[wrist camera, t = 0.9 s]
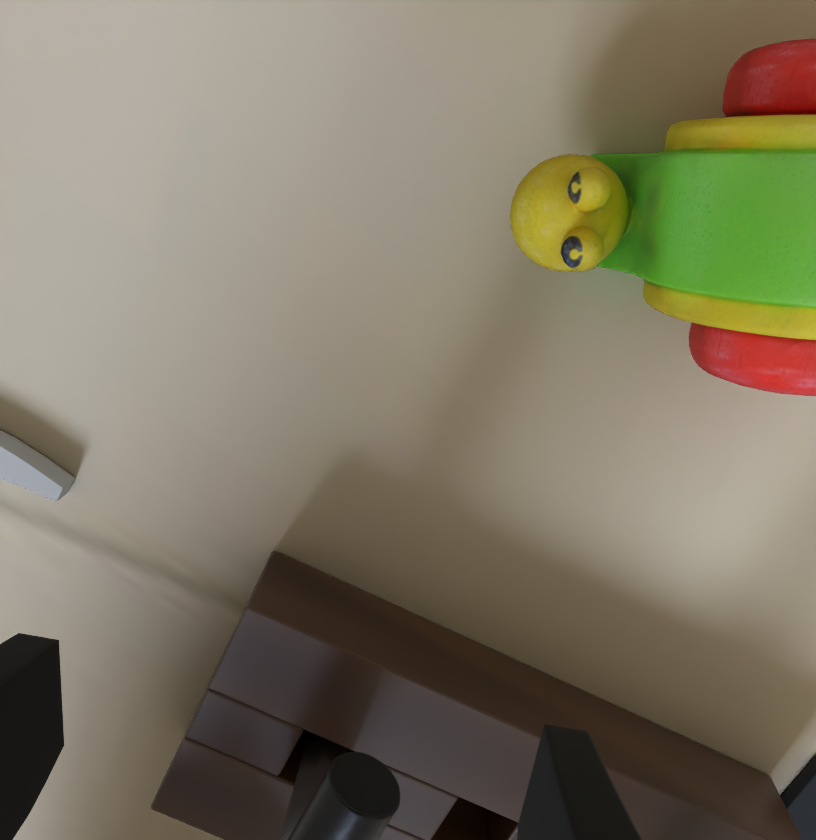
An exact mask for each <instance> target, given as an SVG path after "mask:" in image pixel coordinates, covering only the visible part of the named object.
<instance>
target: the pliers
mask: <svg viewBox="0 0 816 840" xmlns="http://www.w3.org/2000/svg"><path fill="white" fill-rule="evenodd" d="M0 479H3V480H6V481H8V482H11V483H13V484H16V485H19V486H21V487H24V488H26V489H29V490H31V491H33V492H35V493H38V494H40V495H42V496H45V497H47V498H49V499H52V500H54V501H56V502H57V501H58V500H59V499H60V498H62V497H63V496H64V495H65V494H66V493H67V492H69V490H70V488H71V486H72V484H73V481H74V479H75V478H74V477H73V476H72V475H70V474H69V473H67V472H66V471H64V470H63V469H62V468H60V467H59V466H57V465H56V464H55V463H53V462H52V461H50V460H49V459H48V458H46V457H45V456H43V455H42V454H40V453H39V452H37V451H35V450H34V449H32V448H31V447H29V446H27V445H26V444H24V443H23V442H21V441H20V440H18V439H16V438H15V437H13V436H11V435H9V434H7V433H5V432H3V431H1V430H0Z"/></svg>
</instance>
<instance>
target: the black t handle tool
mask: <svg viewBox="0 0 816 840" xmlns="http://www.w3.org/2000/svg"><path fill="white" fill-rule="evenodd" d="M347 751H348V748H346V747H343V746H341V745H339V744H337V743H334V742H332V741H330V740H327V739H325V738H323V737H320V736H318V735H316V734H314V733H311V732H309V731H308V734H307V738H306V742H305V746H304V750H303V753H302V757H301V761H300V765H299V769H298V772H297V776H296V780H295V784H294V788H293V792H292V795H291V799H290V803H289V807H288V811H287V814H286V818H285V822H284V826H283V830H282V833H281V837H280V840H379V838H380V836H381V835H382V833H383V832H384V830H385V828H386V827H387V825H388V824H389V822H390V820H391V819H392V817H393V815H394V814H395V812H396V811H397V809H398V807H399V804H400V789H399V785H398V783H397V780H396V779H395V777H394V775H393V774H392V772H391V771H390V770H389V769H388V768H387V767H386V766H385V765H384V764H383V763H382V762H380V761H379V760H378V759H376V758H374V757H372V756H370V755H368V754H365V753H361V752H347Z"/></svg>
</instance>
